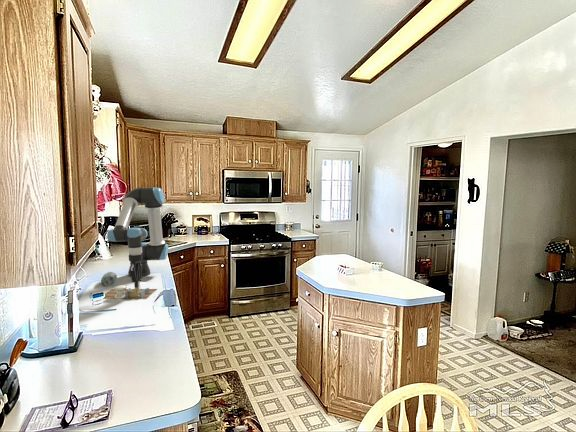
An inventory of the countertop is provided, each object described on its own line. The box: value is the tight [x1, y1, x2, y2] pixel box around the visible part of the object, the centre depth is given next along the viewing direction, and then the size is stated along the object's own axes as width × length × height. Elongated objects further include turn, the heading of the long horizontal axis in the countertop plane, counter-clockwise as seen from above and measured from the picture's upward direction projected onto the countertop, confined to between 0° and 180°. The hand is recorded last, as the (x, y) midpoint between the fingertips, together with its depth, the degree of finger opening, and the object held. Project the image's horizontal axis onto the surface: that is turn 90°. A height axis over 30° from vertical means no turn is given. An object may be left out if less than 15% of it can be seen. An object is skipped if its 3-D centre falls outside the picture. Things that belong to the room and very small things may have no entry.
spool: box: [100, 271, 118, 287], centre depth 235 cm, size 14×10×10 cm
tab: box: [130, 288, 141, 298], centre depth 209 cm, size 5×4×4 cm
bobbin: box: [113, 284, 128, 300], centre depth 208 cm, size 7×7×6 cm
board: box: [102, 288, 158, 300], centre depth 214 cm, size 18×29×1 cm, turn 90°
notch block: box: [125, 287, 150, 298], centre depth 210 cm, size 8×12×4 cm, turn 90°
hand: (137, 292), depth 212 cm, fingers closed
